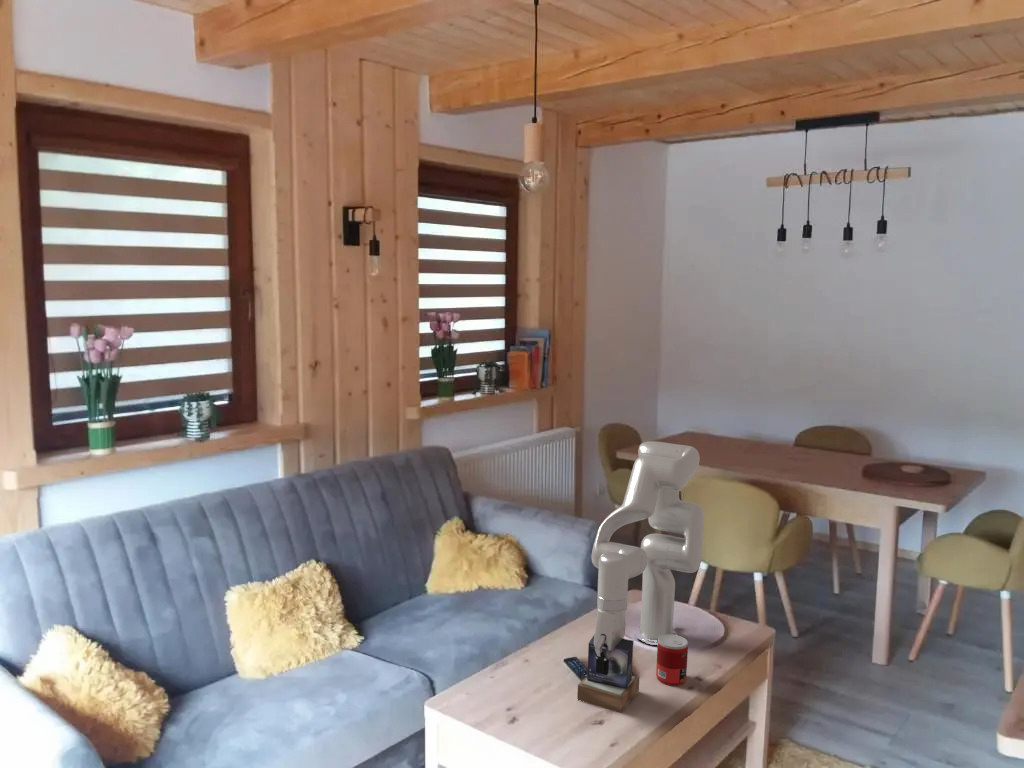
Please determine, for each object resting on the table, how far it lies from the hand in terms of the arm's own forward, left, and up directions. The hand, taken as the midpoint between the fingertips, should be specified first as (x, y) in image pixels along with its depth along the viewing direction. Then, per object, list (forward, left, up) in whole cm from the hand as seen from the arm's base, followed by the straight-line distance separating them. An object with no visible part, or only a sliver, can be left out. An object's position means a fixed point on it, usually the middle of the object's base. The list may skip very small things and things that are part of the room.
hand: (609, 665), depth 216 cm
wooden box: (0, 0, -8) cm, 8 cm away
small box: (0, 0, -4) cm, 4 cm away
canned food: (-17, +11, -8) cm, 22 cm away
